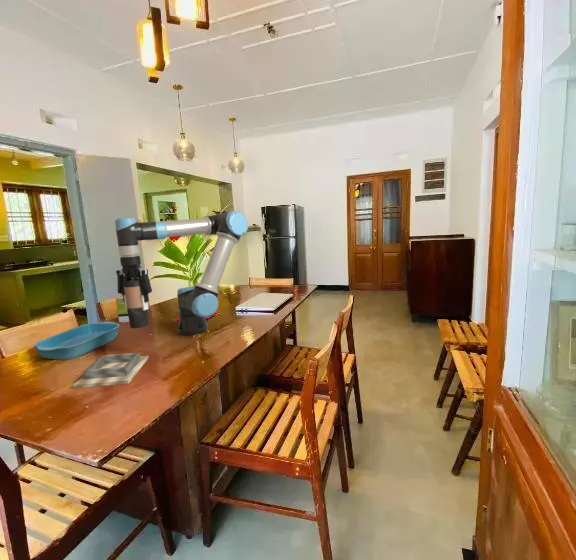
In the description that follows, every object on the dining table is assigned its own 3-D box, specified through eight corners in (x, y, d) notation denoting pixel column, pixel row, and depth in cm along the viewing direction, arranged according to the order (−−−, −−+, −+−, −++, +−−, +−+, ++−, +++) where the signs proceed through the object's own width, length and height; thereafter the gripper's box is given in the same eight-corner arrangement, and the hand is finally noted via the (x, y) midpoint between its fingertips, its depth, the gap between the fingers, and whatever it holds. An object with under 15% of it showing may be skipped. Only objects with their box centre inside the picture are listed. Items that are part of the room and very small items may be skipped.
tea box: (128, 315, 203) (125, 293, 201) (144, 314, 204) (142, 291, 202) (118, 322, 189) (115, 298, 186) (136, 321, 190) (133, 297, 187)
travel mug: (153, 323, 141) (147, 278, 137) (139, 329, 134) (133, 281, 130) (139, 322, 143) (133, 278, 140) (125, 328, 136) (118, 281, 133)
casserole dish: (67, 365, 130) (64, 349, 129) (23, 363, 135) (20, 346, 134) (129, 335, 166) (128, 321, 165) (93, 333, 171) (91, 320, 169)
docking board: (148, 358, 134) (147, 348, 133) (128, 383, 112) (127, 372, 112) (102, 362, 132) (101, 352, 131) (73, 388, 110) (71, 376, 110)
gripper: (157, 254, 134) (163, 307, 138) (115, 255, 139) (123, 306, 143) (145, 256, 127) (152, 312, 131) (102, 257, 132) (110, 311, 136)
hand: (137, 309), depth 137 cm, fingers closed on travel mug, 8 cm apart
